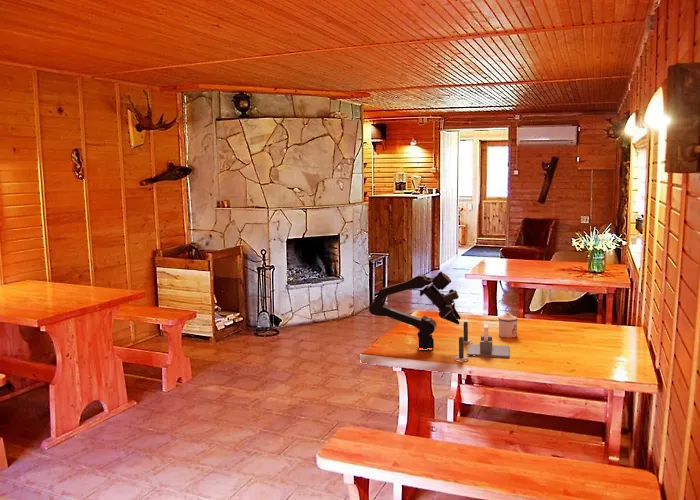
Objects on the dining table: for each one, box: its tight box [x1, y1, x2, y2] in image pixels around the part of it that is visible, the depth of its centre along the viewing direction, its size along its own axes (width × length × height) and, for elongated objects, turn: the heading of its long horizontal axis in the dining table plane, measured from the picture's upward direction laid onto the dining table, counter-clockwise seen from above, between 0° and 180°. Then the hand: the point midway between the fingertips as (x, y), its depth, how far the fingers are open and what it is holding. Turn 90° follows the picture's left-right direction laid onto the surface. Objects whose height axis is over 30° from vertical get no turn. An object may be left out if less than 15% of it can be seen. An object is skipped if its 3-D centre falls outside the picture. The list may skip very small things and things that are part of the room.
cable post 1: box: [453, 336, 469, 361], centre depth 249 cm, size 6×6×10 cm
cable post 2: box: [463, 321, 473, 343], centre depth 276 cm, size 6×6×10 cm
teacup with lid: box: [498, 311, 518, 338], centre depth 287 cm, size 12×9×12 cm
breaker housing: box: [466, 335, 510, 359], centre depth 260 cm, size 18×16×6 cm
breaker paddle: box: [483, 323, 489, 341], centre depth 259 cm, size 2×6×10 cm, turn 165°
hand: (459, 321), depth 262 cm, fingers open, 9 cm apart
